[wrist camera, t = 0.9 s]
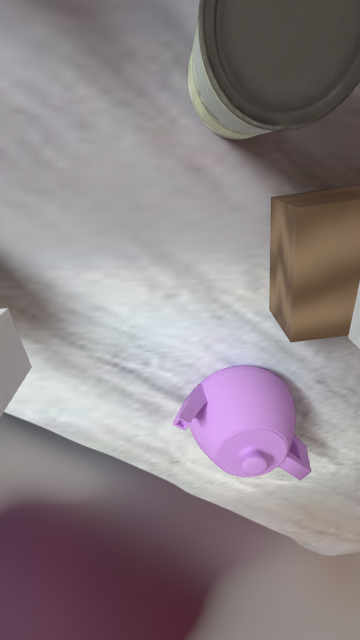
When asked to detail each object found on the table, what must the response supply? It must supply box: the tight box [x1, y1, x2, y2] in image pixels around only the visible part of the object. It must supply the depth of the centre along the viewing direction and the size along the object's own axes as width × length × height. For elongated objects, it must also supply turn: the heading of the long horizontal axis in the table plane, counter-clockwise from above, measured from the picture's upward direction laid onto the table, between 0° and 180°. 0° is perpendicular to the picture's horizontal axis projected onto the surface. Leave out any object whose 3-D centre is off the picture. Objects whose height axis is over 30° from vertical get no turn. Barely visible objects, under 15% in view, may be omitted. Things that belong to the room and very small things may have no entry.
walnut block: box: [270, 185, 360, 342], centre depth 33 cm, size 14×14×8 cm
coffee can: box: [188, 0, 360, 140], centre depth 23 cm, size 10×10×14 cm
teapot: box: [173, 366, 311, 480], centre depth 42 cm, size 22×16×12 cm
